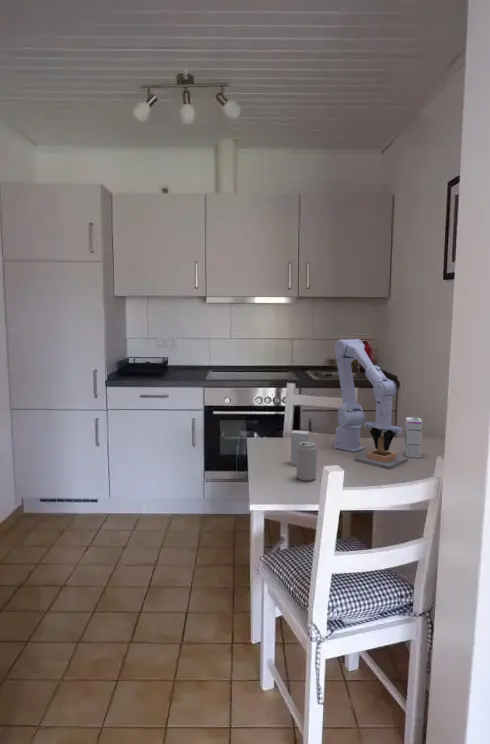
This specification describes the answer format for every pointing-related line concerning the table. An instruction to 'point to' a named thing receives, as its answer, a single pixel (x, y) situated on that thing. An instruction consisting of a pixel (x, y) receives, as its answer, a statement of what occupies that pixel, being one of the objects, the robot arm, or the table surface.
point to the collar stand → (382, 459)
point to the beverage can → (306, 461)
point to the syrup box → (413, 437)
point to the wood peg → (381, 446)
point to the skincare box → (297, 443)
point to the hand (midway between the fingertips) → (381, 449)
